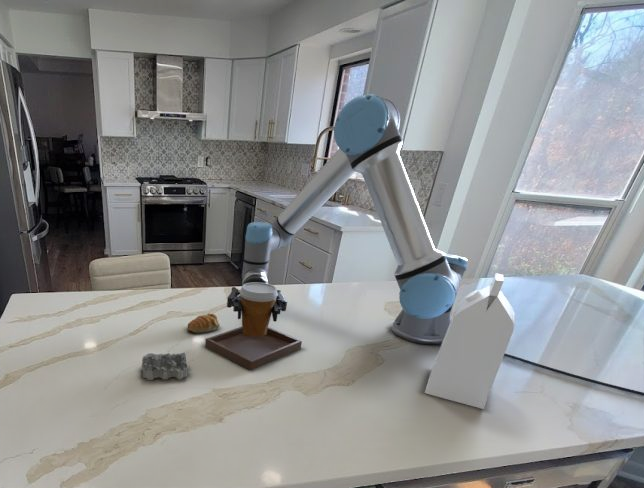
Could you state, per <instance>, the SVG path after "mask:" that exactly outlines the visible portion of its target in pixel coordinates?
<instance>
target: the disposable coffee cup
mask: <svg viewBox="0 0 644 488" xmlns="http://www.w3.org/2000/svg"><path fill="white" fill-rule="evenodd" d="M239 290H240V294H239V296H240V295H241V303H242V312H241V327H242V332H243V333H244V334H246V335H248V336H253V337H260V336H264V335H265V334H266V332H267V329H268V327H269V324H270V320H271V317H272V310H273V306H274V302H275V299H276V297H277V296H278V293H277V290H278V289H277V287H276V286H275V285H273V284H270V283H268V284H267V283H260V282H251V283H246V284H244V285H243V286H242V285H241V288H240V289H239Z"/></svg>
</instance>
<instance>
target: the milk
mask: <svg viewBox="0 0 644 488" xmlns="http://www.w3.org/2000/svg"><path fill="white" fill-rule="evenodd" d="M503 284H504V274H502V273H494V276H493V278H492V280H491V282H490V285H488V286H487V285H486V286H485V287H483V288H481V289H475V290H474V291H471V292H470V293H468V294H466V296H464V297H463V298H462V299H460V300H458V303H457V305H456V307H455V310H454V312H453V314H452V316H451V318H450V324H449V327H448V330H447V332H446V335H445V337H444V340H443V342H442V344H440V347H439V351H438V352H437V355H436V358H435V360H434V363H433V365H432V368H431V370H430V373H429V377H428V380H427V382H426V383H427V384H426V387H425V390H424V394H426V395H430V396H433V397H437V398H441V399H445V400H448V401H452V402H456V403H459V404H463V405H467V406H470V407H473V408H478V409H480V410H481V409H482V410H484V409H485V406H486V404H487V400H488V398H489V396H490V393H491V390H492V388H493V385H494V382H495V380H496V377H497V375H498V373H499V369H500V368H501V364H502V362H503V359H504V357H505V356H504V354H506V351H507V348H508V346H509V343H510V342H511V338H512V336H513V333H514V330H515V326H516V316H515V310H514V308H513V307H512V305H511V302H509V301H508V300H509V299H507V297H506V296H505V295H504V293H503V292H502V290H501V289H502V287H503Z"/></svg>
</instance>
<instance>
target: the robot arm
mask: <svg viewBox="0 0 644 488" xmlns="http://www.w3.org/2000/svg"><path fill="white" fill-rule="evenodd" d="M400 125H401V114H400V111H399V108H398V107H397V106H396V104H395V103H394V102H393V101H391V100H389V99H388V98H384V97H381V96H379V95H377V94H374V93H367V94H362V95H359V96H356V97H354V98H352V99H350V100H348V102H347V103H346V104H345V105H343V107H342V108H341V109H340V111H339V112H338V115H337V117H336V120H335V122H334V125H333V138H334V141H335V144H336V146H337V147H338V149H336V151H335V152H334V153H333V155H331V157H330V158H329V159H328V160H327V161H326V162H325V164H324V165H323V166H322V167H321V168H320V169H319V170H318V171H317V172H316V173H315V175H314V176H313V177H312V178H311V179H310V180H309V181H308V183H307V184H306V185H304V187H303V188H302V189H301V190H300V191H299V192H298V194H297V195H296V196H294V198H293V199H292V200H291V202H289V204H288V205H287V206H286V207H285V208H284V209H283V210H282V211H281V212H280V214H279V215H278V216H277V217H276V218H275V219H274V221H272V223H268V222H264V221H263V222H262V221H256V222H255V221H253V222H250V223H248V225H247V227H246V232H245V236H244V237H245V240H244V255H243V265H242V270H241V279H242V282H241V283H242V285H241V287H242V286H243V285H244V284H246V283H251V282H260V283H267V284H269V281H268V270H269V269H268V268H269V263H270V253H272V252H274V251H278V250H280V249H282V248H284V247H286V246H287V245H289V243H290V242H291V241H292V239H293V237H294V235H295V234H296V233H297V232H298V231H299V230H300V229H301V228H302V227H303V226H304V225H305V224H306V223H307V222H308V221H309V220H310V219H311V218H312V217H313V216H314V215H315V214H316V213H317V212H318V211H319V210H320V209H321V207H322V206H323V205H325V203H327V202H328V200H329V199H330V198H332V196H333V195H335V193H336V192H337V191H338V190H339V189H340V188H342V186H343V185H344V184H345V183H346V182H347V181H348V180H349V179H350V178H351V177H352V176H353V175H354V174H355V173H359V174H361V176H362V178H363V180H364V183H365V185H366V188H367V191H368V193H369V195H370V198H371V200H372V203H373V206H374V208H375V211H376V214H377V216H378V218H379V221H380V224H381V226H382V229H383V231H384V233H385V236H386V239H387V241H388V244H389V246H390V249H391V251H392V255H393V256H394V258H395V262H396V264H397V266H396V269H395V270H394V272H393V275H394V277H395V280H396V283H397V285H398V288H399V293H398V295H399V297H398V298H399V304H400V307H401V308H402V309H401V311H400V312H399V313H398V315H397V316H396V318H395V319H394V321H393V322H392V326H391V332H392V333H393V334H394V335H396V336H397V337H398V338H401V339H403V340H405V341H409V342H411V343H416V344H421V345H431V346H432V345H436V346H437V345H442V342H443V340H444V337H445V335H446V332H447V330H448V327H449V324H450V322H451V312H452V309H453V306H454V304H455V301H456V298H457V295H458V292H459V289H460V286H461V284H462V281H463V279H464V275H465V272H466V271H467V269H468V267H467V266H468V259H467V258H466V257H464V256H460V255H454V254H449V253H445V252H444V251H441V250H439V249H436V248H435V245H434V243H433V240H432V238H431V237H432V236H431V235H430V232H429V229H428V227H427V224H426V222H425V219H424V216H423V214H422V211H421V208H420V205H419V202H418V201H417V198H416V195H415V192H414V189H413V187H412V184H411V182H410V179H409V177H408V173H407V171H406V169H405V166H404V163H403V160H402V157H401V156H400V151H401V148H402V146H403V144H404V141H403V139H402V136H401V133H400V131H399V129H400ZM240 290H241V289H239V288H237V287H236V286H232V287H231V292H230V293H229V295H228V296H227V301H226V307H227V308H232V307H233V312H234V313H235V312H237V320H242V303H241V295H240ZM277 293H278V296H277V297H276V299H275V302H274V306H273V310H272V314H271V317H272V322H276V323H277V320H278V315H281V312H286V311H287V305H288V301H287V300H286V298H285V297H284V295H283V294H282V290H281V289H277ZM504 357H506V358H508V359H513V360H515V361H519V362H523V363H524V364H525V363H526V364H528V365H532V366H534V367H538V368H540V369H543V370H547V371H550V372H553V373H557V374H559V375H564V376H567V377H571V378H575V379H577V380H581V381H585V382H587V383H588V382H589V383H593V384H595V385H599V386H603V387H607V388H610V389H614V390H618V391H622V392H627V393H631V394H635V395H638V396H643V397H644V392H643V391H640V390H635V389H631V388H626V387H623V386H619V385H614V384H611V383H606V382H603V381H599V380H595V379H592V378H588V377H584V376H581V375H577V374H574V373H570V372H567V371H564V370H560V369H557V368H554V367H550V366H547V365H544V364H541V363H537V362H535V361H531V360H528V359H525V358H522V357H518V356H516V355H512V354H508V353H505V354H504Z"/></svg>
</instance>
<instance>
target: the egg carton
mask: <svg viewBox="0 0 644 488" xmlns="http://www.w3.org/2000/svg"><path fill="white" fill-rule="evenodd" d="M141 369H142V375H143V376H142V378H143V379H147V380H148V381H153V380H155V379H156V378H157V379H158V378H159V379H162V380H169V379H170V378H175V379H177V380H182V379H183V378H185V377H187V375H188V373H187V371H188V369H189V368H188V361H187V354H186V352H181V353H177V354H175V353H172V354H170V353H169V352H168V353H159V354H158V353H157V354H156V353H152V352H151V353H147V354H145V355H143V356H142V359H141Z"/></svg>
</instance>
